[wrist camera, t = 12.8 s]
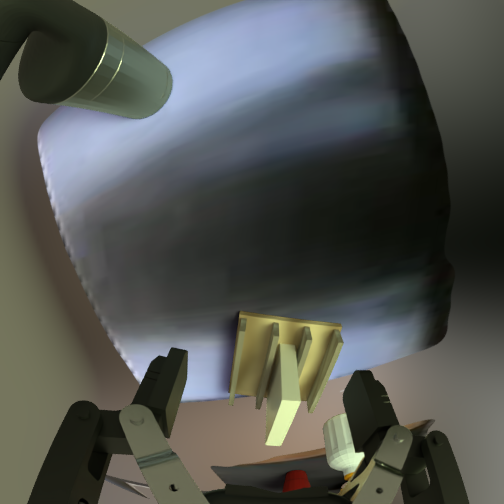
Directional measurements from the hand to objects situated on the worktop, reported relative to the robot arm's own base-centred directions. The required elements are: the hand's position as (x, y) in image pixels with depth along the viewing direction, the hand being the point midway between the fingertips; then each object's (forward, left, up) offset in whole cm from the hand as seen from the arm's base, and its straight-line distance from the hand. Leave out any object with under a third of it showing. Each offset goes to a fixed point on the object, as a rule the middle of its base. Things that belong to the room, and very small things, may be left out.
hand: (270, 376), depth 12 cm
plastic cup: (+21, -69, -27) cm, 77 cm away
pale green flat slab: (+6, -23, -26) cm, 35 cm away
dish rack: (+6, -22, -27) cm, 35 cm away
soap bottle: (+24, -40, -27) cm, 54 cm away
